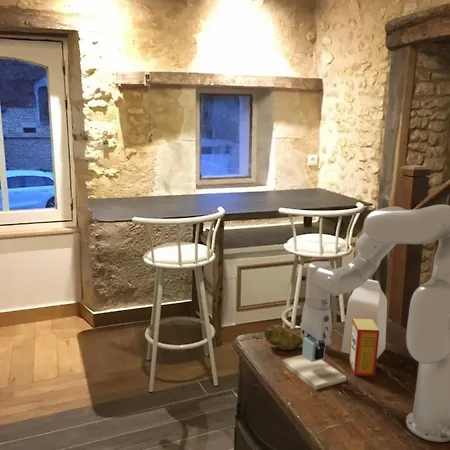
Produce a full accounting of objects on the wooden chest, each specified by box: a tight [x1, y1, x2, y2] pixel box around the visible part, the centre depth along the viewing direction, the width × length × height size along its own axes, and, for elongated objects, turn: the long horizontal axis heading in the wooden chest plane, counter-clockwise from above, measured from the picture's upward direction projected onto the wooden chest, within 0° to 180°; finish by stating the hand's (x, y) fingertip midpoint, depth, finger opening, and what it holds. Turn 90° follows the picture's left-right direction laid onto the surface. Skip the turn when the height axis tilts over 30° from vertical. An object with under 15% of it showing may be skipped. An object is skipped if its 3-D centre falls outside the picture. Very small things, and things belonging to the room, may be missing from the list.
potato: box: [264, 324, 303, 351], centre depth 182 cm, size 8×13×8 cm, turn 71°
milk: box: [340, 278, 388, 359], centre depth 179 cm, size 12×12×26 cm
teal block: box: [301, 336, 326, 362], centre depth 164 cm, size 5×5×6 cm
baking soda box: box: [348, 318, 379, 377], centre depth 167 cm, size 10×6×16 cm
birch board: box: [281, 354, 347, 391], centre depth 166 cm, size 18×12×2 cm, turn 28°
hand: (313, 354), depth 165 cm, fingers closed on teal block, 4 cm apart
